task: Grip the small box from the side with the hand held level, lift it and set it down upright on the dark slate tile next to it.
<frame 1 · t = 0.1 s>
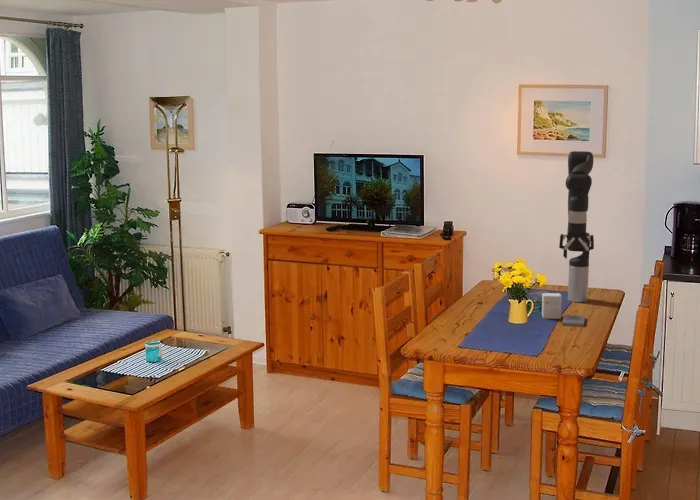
hand: (576, 258, 369), 29 cm above the table, tool pointing down, fingers open, 8 cm apart
small box: (551, 317, 387), on the table
slate tile: (573, 321, 379), on the table
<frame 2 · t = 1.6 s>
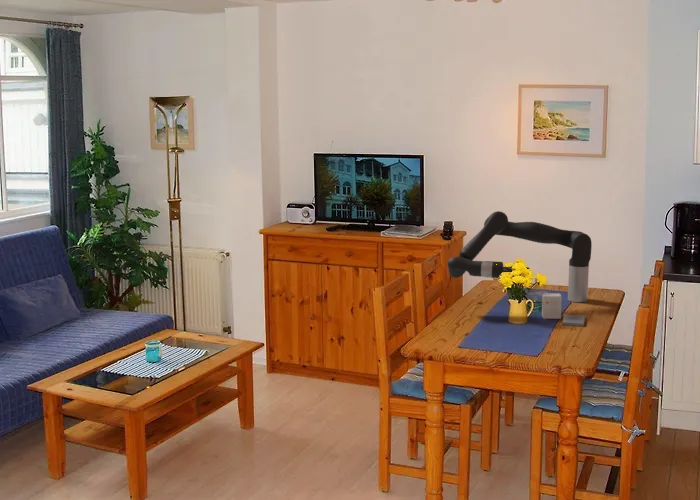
hand: (528, 271, 386), 20 cm above the table, tool horizontal, fingers open, 8 cm apart
nothing on the table moved.
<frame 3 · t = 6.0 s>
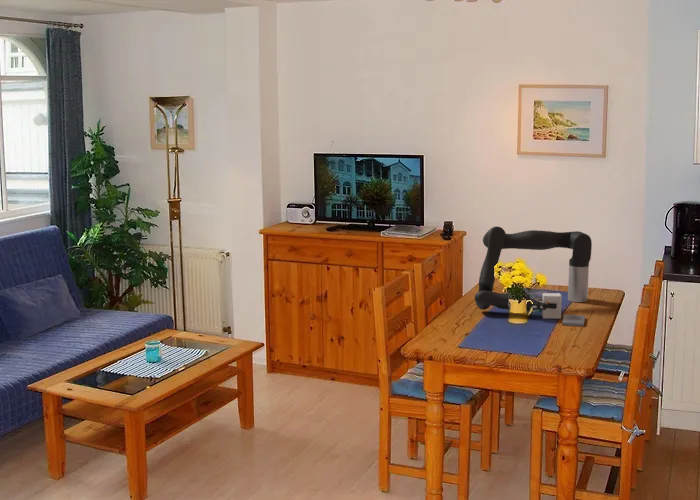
hand: (557, 304, 385), 6 cm above the table, tool horizontal, fingers closed on small box, 6 cm apart
small box: (551, 317, 387), on the table, touching gripper
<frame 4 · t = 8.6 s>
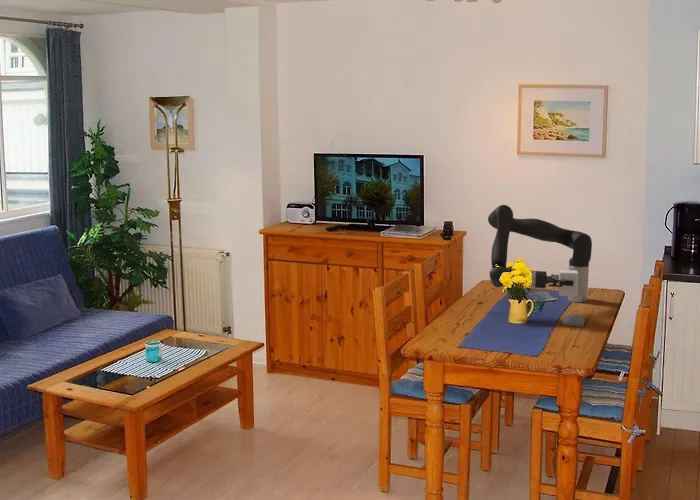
hand: (573, 281, 377), 18 cm above the table, tool horizontal, fingers closed on small box, 6 cm apart
small box: (567, 295, 379), point 11 cm above the table, touching gripper
when the fingers open (8 cm above the table, at t = 11.1 s): small box drops 1 cm, resting on slate tile.
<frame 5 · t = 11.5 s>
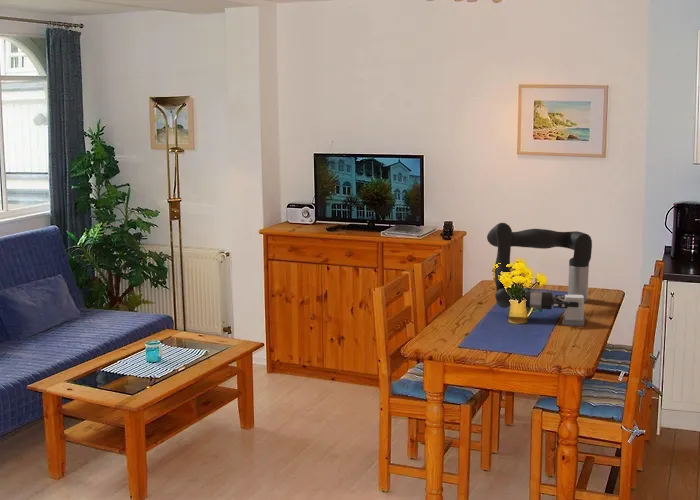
hand: (578, 302, 377), 9 cm above the table, tool horizontal, fingers open, 8 cm apart
small box: (573, 319, 379), point 1 cm above the table, touching slate tile
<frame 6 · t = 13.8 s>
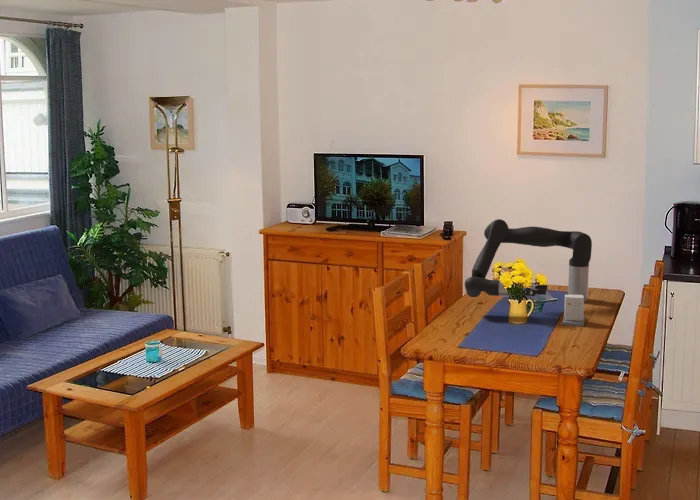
hand: (546, 289, 382), 13 cm above the table, tool horizontal, fingers open, 8 cm apart
nothing on the table moved.
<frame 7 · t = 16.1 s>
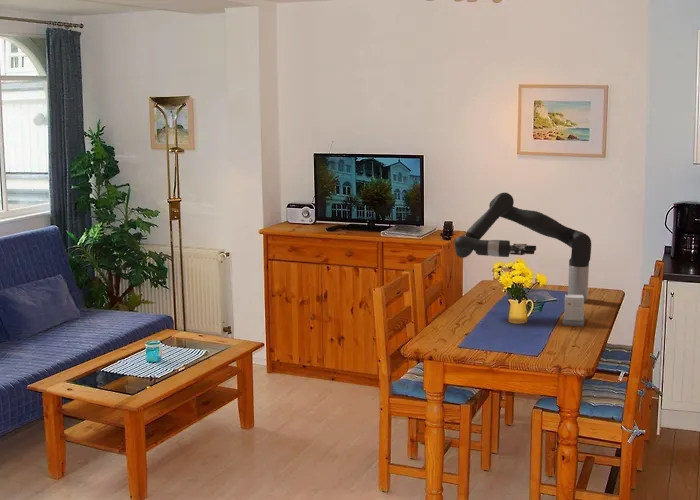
hand: (535, 249, 385), 30 cm above the table, tool horizontal, fingers open, 8 cm apart
nothing on the table moved.
at the end: small box 0.4 cm off-centre on the slate tile, point 1.0 cm above the slate tile's base; small box tilted 0°; the gripper is holding nothing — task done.
